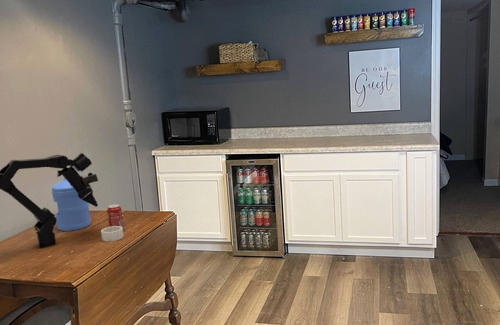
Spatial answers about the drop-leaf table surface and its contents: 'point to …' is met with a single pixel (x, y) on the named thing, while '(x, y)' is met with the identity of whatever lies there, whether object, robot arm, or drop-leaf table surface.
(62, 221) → the water jug
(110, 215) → the beverage can
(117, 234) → the ring
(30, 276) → the drop-leaf table surface
